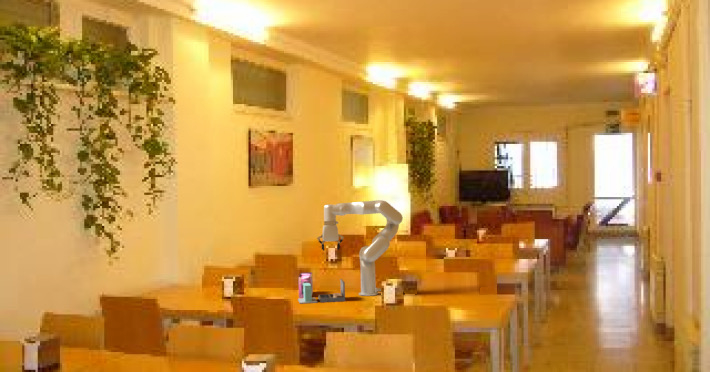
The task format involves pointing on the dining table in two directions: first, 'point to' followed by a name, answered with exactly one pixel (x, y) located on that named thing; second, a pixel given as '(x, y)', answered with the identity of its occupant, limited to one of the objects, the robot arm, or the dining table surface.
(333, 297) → the offcut stack
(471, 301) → the dining table surface
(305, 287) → the teal board
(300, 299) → the mat
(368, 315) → the dining table surface
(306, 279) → the gum box
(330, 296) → the rack
